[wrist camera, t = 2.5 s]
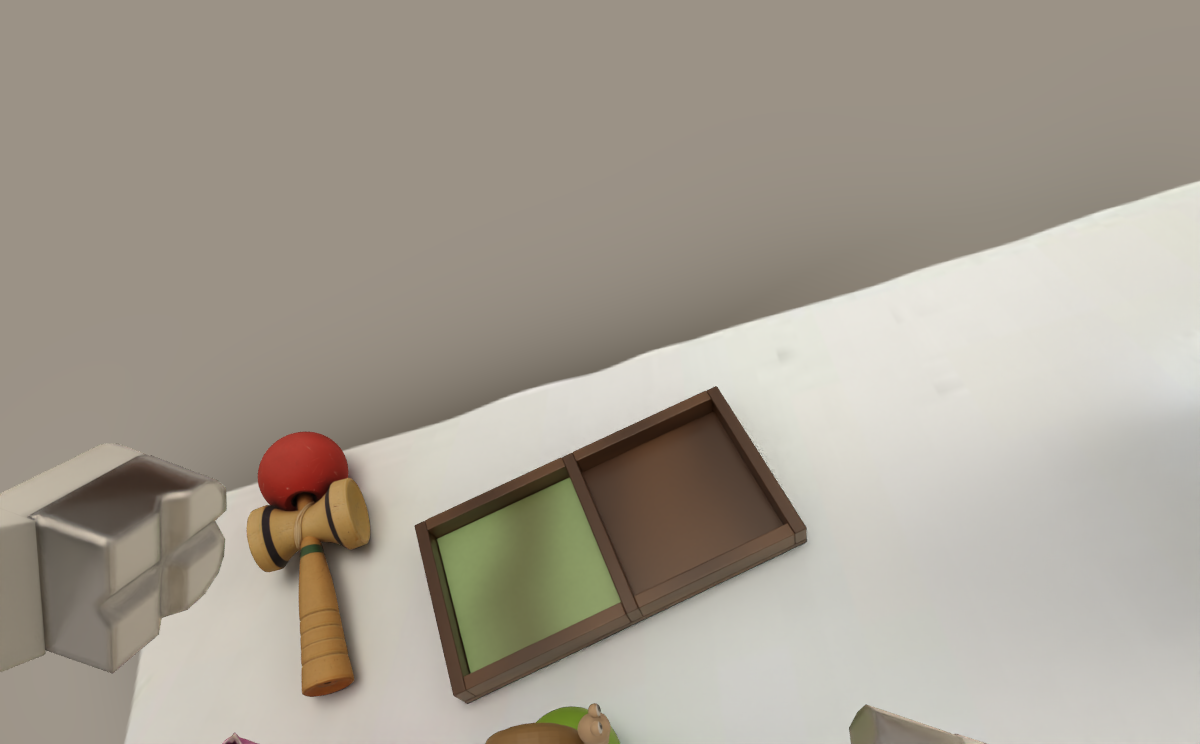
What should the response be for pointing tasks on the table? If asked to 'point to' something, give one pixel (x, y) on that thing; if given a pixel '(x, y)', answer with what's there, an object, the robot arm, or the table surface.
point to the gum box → (237, 740)
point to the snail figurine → (561, 729)
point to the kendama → (310, 543)
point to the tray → (600, 542)
